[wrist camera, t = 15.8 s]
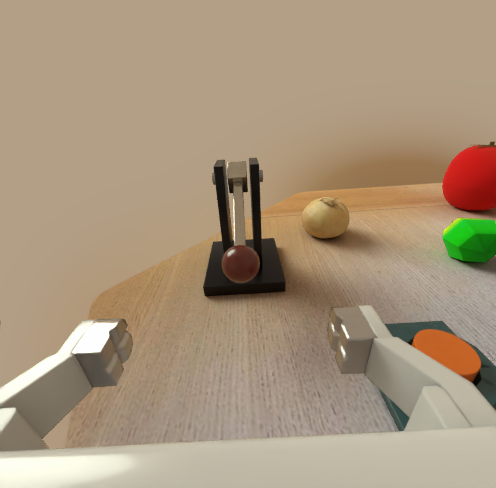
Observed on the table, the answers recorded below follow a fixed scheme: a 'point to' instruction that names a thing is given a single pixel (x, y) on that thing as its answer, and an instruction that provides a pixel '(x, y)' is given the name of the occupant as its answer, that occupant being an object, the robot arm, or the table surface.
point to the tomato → (472, 179)
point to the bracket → (266, 250)
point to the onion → (325, 218)
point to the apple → (471, 239)
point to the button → (449, 352)
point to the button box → (489, 376)
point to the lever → (239, 231)
